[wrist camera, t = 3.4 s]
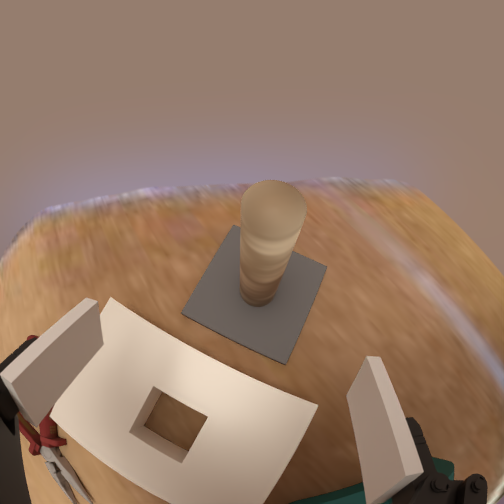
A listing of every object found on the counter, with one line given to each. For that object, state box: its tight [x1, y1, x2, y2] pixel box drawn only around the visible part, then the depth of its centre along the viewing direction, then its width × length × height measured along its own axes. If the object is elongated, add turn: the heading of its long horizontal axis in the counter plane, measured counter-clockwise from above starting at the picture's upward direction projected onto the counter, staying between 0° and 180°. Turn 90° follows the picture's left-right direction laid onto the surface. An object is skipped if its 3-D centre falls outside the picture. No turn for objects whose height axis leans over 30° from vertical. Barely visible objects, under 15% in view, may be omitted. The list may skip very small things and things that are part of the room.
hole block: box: [50, 297, 318, 504], centre depth 20 cm, size 20×14×4 cm
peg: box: [240, 180, 307, 307], centre depth 21 cm, size 4×4×14 cm
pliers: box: [17, 335, 93, 504], centre depth 18 cm, size 12×20×3 cm, turn 34°
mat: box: [181, 225, 327, 365], centre depth 27 cm, size 11×11×1 cm
